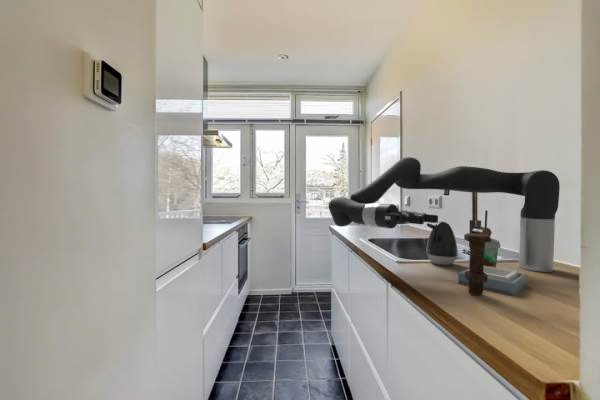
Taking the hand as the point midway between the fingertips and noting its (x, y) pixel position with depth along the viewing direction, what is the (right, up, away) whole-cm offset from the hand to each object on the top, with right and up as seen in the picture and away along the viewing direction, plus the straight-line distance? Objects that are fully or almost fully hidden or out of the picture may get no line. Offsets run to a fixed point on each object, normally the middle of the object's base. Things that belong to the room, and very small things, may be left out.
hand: (430, 219), depth 84 cm
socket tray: (+18, -18, +1) cm, 25 cm away
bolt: (+8, -18, -8) cm, 22 cm away
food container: (+27, -18, +17) cm, 37 cm away
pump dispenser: (+15, -18, +25) cm, 34 cm away
